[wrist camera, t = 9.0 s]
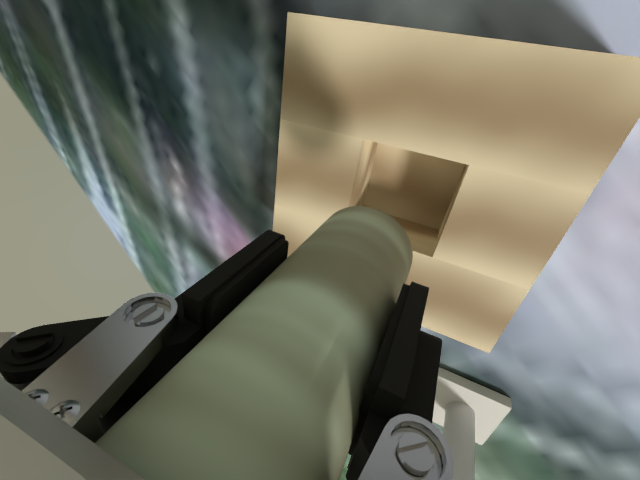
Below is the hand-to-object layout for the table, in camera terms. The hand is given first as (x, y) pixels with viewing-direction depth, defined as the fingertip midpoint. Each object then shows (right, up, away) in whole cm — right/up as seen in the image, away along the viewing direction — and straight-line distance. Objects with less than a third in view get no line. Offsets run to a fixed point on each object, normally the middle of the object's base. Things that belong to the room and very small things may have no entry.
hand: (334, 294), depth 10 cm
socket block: (+6, +6, +11) cm, 14 cm away
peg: (+1, +1, +3) cm, 3 cm away
